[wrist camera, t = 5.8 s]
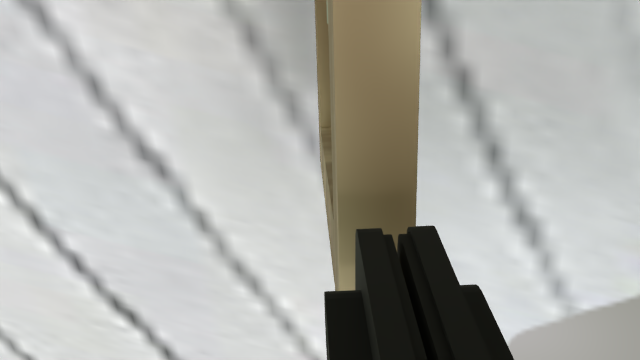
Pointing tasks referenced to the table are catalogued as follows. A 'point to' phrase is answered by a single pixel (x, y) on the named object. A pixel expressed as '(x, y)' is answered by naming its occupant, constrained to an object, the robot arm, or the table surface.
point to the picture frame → (367, 120)
